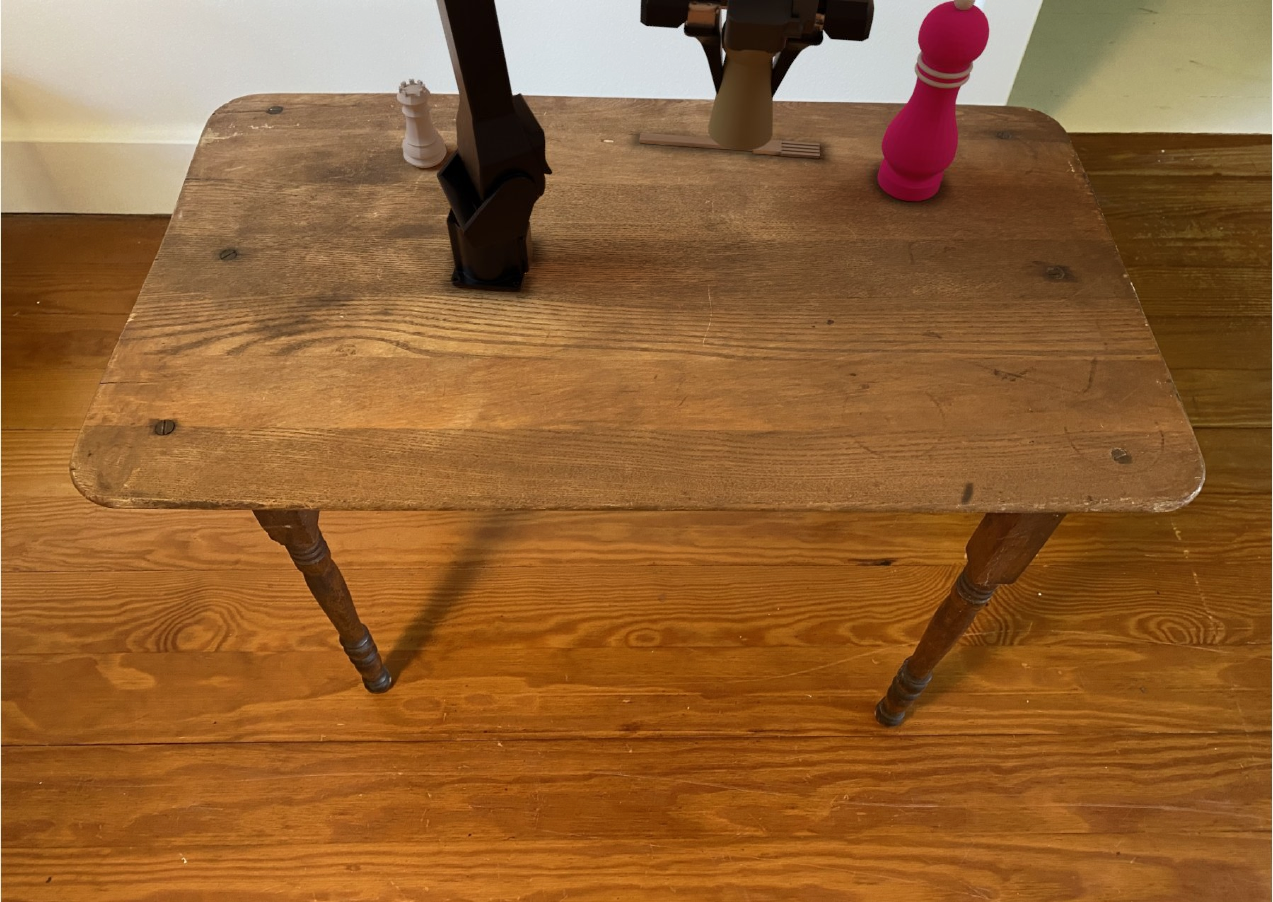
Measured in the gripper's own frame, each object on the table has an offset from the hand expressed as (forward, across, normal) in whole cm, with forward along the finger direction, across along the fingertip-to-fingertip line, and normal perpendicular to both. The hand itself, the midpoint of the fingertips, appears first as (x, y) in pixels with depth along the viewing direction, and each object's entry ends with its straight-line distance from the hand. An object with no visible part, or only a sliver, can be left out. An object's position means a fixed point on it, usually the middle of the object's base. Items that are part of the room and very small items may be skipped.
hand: (744, 94), depth 82 cm
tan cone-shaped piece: (+4, 0, 0) cm, 4 cm away
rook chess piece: (+12, -32, +3) cm, 34 cm away
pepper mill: (+12, +18, +5) cm, 22 cm away
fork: (+12, 0, +9) cm, 15 cm away
